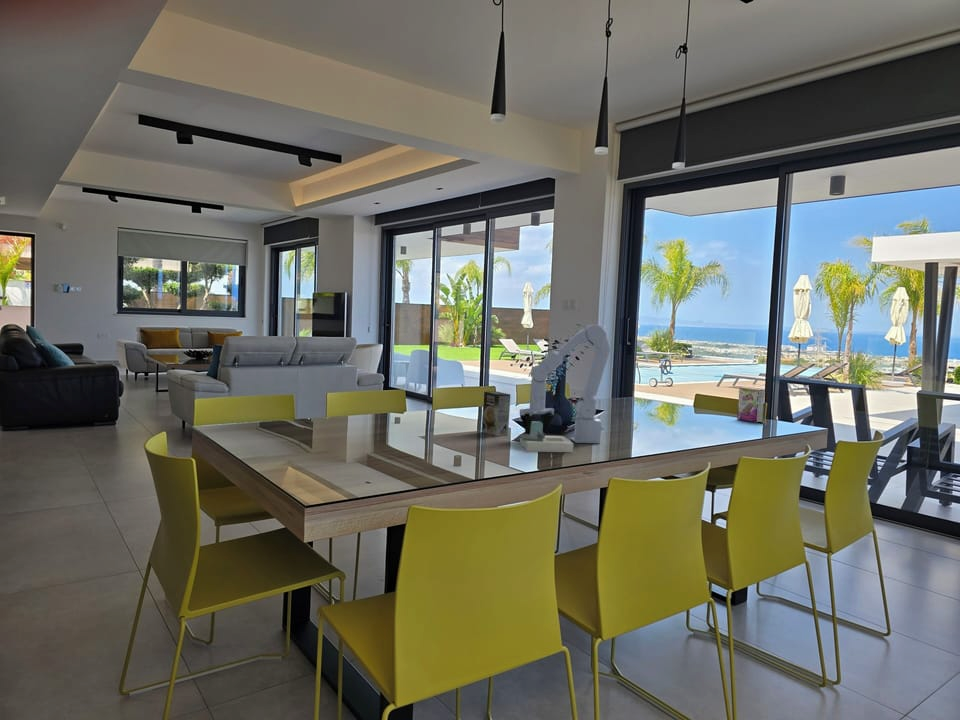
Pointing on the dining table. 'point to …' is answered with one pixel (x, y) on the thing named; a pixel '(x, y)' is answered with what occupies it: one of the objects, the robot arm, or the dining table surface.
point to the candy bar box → (751, 404)
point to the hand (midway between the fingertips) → (535, 433)
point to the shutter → (533, 437)
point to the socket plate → (548, 444)
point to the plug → (536, 427)
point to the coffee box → (496, 413)
